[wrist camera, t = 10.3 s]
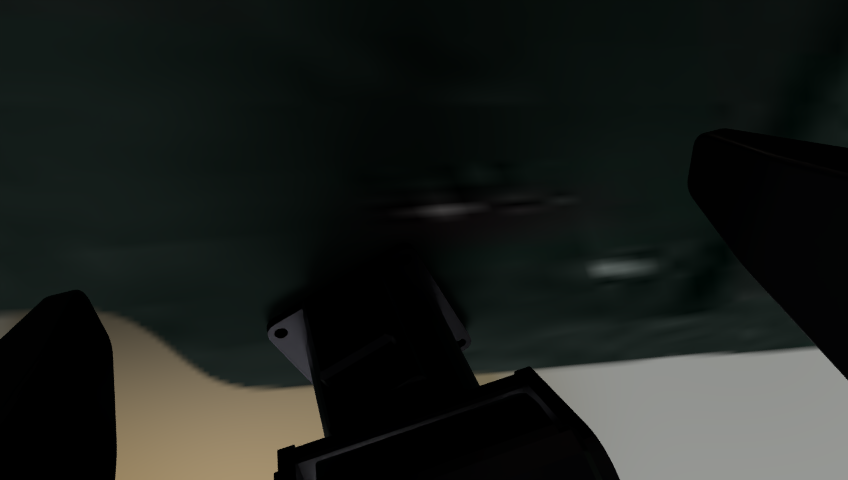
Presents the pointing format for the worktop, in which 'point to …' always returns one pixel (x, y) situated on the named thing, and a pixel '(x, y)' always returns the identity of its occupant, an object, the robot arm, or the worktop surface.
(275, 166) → the worktop surface
